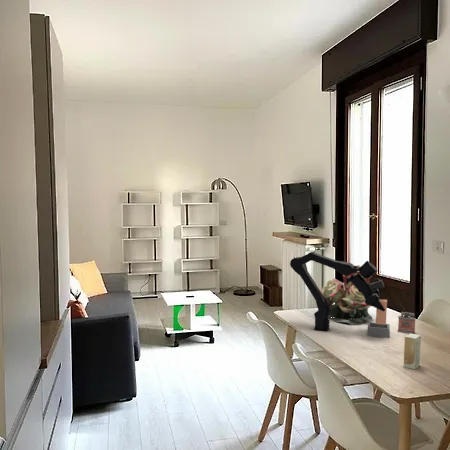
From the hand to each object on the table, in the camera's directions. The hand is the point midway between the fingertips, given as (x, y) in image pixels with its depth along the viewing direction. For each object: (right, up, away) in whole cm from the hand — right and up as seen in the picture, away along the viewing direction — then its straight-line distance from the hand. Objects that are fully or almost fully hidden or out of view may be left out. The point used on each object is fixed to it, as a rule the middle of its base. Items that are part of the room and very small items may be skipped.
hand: (384, 309), depth 234 cm
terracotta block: (-2, -7, +1) cm, 7 cm away
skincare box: (-3, -15, -41) cm, 44 cm away
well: (-1, -13, +6) cm, 14 cm away
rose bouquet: (-8, -11, +34) cm, 36 cm away
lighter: (+14, -13, +9) cm, 21 cm away
